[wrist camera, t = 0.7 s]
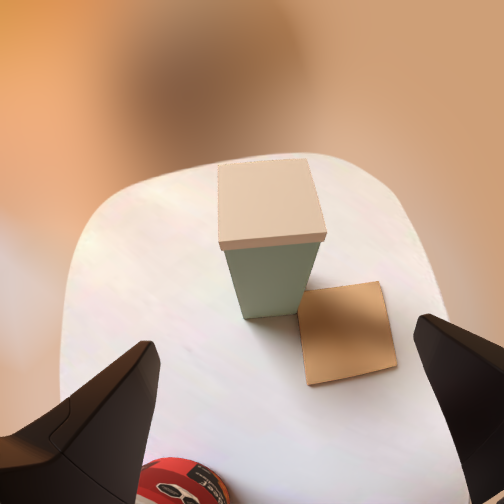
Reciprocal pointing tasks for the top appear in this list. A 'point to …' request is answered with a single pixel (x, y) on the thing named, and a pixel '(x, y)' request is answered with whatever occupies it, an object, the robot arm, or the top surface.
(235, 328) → the top surface
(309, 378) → the coaster
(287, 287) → the tea tin
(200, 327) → the top surface
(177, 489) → the canned food
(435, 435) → the top surface
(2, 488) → the robot arm
